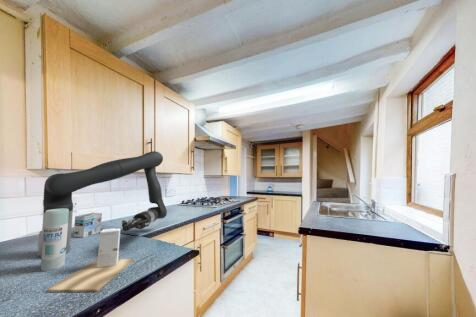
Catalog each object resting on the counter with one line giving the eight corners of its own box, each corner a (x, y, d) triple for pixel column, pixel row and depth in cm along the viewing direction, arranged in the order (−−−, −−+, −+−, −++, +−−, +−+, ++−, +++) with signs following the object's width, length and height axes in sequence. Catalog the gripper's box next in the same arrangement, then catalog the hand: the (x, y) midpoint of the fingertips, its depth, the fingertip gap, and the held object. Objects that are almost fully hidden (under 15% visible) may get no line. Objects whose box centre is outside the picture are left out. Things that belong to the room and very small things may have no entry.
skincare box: (96, 268, 68) (98, 232, 69) (99, 263, 72) (101, 229, 73) (117, 265, 71) (119, 230, 72) (119, 260, 75) (120, 227, 76)
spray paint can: (68, 261, 74) (72, 207, 76) (59, 269, 68) (64, 210, 70) (46, 264, 72) (50, 208, 74) (35, 272, 66) (40, 212, 68)
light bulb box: (83, 238, 102) (84, 216, 103) (72, 237, 103) (74, 216, 104) (101, 232, 113) (102, 212, 113) (91, 231, 114) (92, 212, 115)
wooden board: (46, 291, 55) (47, 289, 56) (96, 260, 75) (96, 259, 75) (97, 291, 56) (97, 289, 56) (133, 260, 76) (133, 259, 76)
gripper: (131, 211, 99) (109, 219, 82) (157, 211, 100) (141, 219, 82) (130, 226, 99) (108, 237, 82) (157, 226, 99) (140, 237, 82)
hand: (124, 228), depth 82 cm, fingers closed
